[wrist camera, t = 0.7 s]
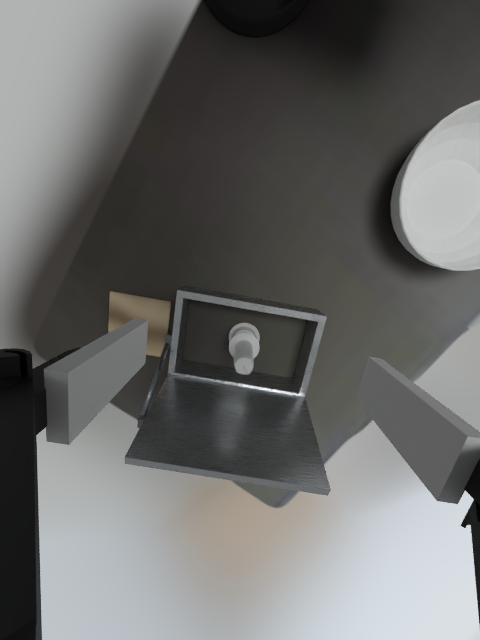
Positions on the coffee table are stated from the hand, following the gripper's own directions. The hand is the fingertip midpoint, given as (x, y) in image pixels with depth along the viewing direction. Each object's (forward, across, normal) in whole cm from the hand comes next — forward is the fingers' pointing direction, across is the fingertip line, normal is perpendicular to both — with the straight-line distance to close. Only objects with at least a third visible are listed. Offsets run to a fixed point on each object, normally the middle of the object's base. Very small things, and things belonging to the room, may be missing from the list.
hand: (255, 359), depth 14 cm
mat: (+26, -18, -8) cm, 33 cm away
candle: (+26, 0, -8) cm, 28 cm away
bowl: (+27, +26, +18) cm, 41 cm away
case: (+26, 0, -9) cm, 28 cm away
